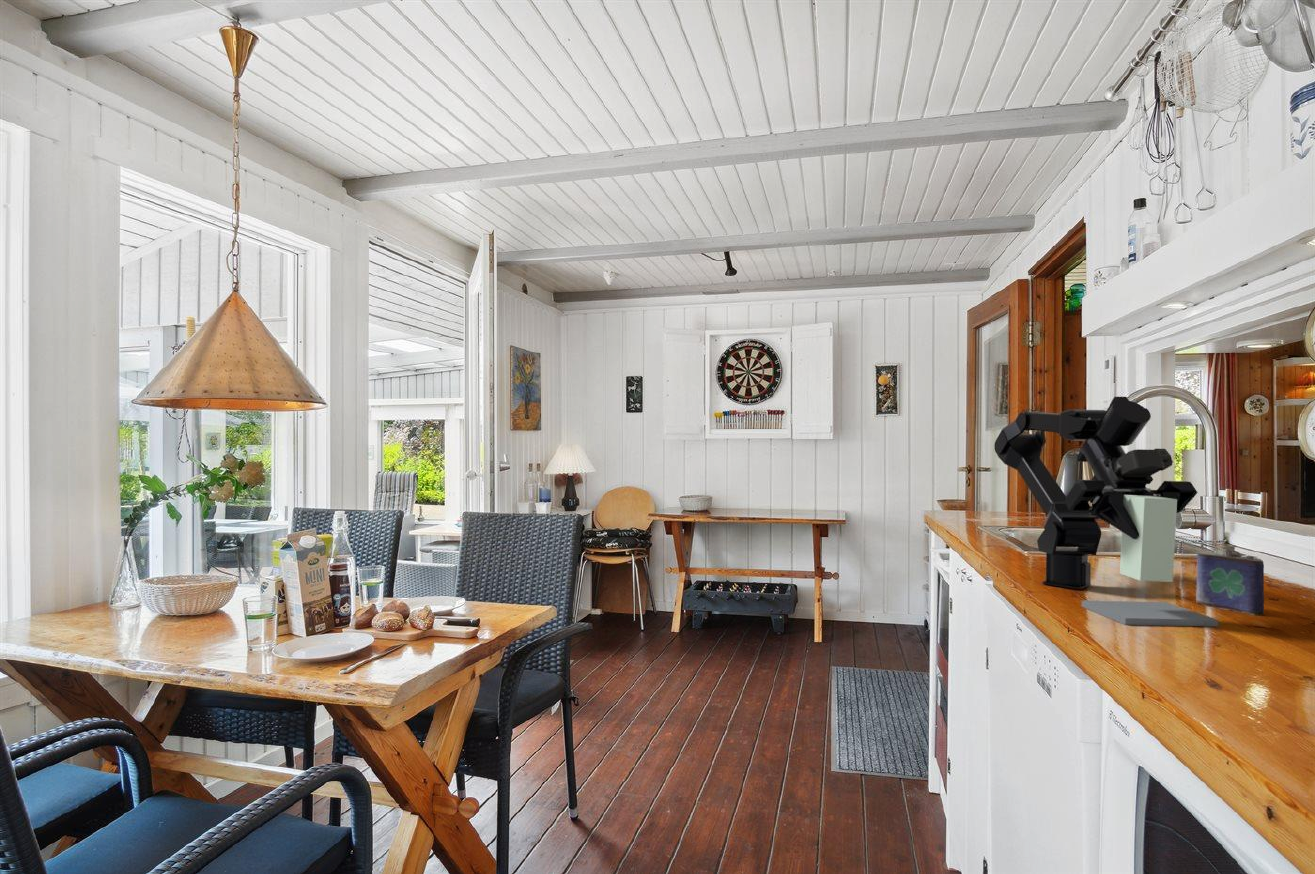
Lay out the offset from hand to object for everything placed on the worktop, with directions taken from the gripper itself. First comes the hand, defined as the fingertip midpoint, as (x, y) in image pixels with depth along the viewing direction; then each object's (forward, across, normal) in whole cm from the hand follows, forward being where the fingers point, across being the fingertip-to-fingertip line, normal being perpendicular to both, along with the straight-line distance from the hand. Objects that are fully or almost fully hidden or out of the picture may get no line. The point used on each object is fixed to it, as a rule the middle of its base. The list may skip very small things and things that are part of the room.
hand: (1153, 537), depth 109 cm
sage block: (+4, 0, +6) cm, 7 cm away
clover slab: (+4, +18, +14) cm, 23 cm away
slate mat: (+8, 0, +10) cm, 13 cm away
